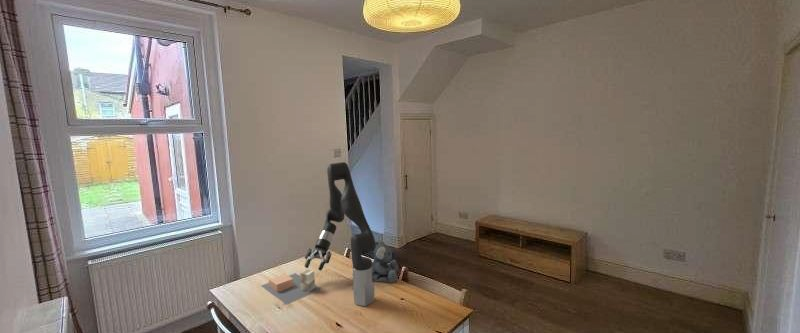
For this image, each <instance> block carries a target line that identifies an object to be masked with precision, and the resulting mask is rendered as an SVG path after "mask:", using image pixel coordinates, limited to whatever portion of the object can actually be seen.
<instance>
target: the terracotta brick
mask: <svg viewBox="0 0 800 333" xmlns="http://www.w3.org/2000/svg"><path fill="white" fill-rule="evenodd" d="M268 283H269V287H270V288H272V289H273V290H275V291H276V292H279V291H282V290H284V289H287V288H289V287H292V286H294V285H293V278H291V277H290V276H289V275H288V274H286V273H283V274H279V275H278V276H275V277H272V278H271V277H270V278H269V279H268Z"/></svg>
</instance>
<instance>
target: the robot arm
mask: <svg viewBox="0 0 800 333" xmlns="http://www.w3.org/2000/svg"><path fill="white" fill-rule="evenodd" d="M326 169H327V170H326V172H327V173H326V174H327V182H328V191H329V209H327V210H326V215H325V221H324V225H323V228H322V230H321V232H320V234H319V236H318V238H317V240H316V243H315V245H314V248H313V249H312V248H311V247H310V248H308V250H307V252H306V253H305V255H304V259H306V262H305V264H304V268H305V269H309V266H310V264H311V262H312V261H313V260H315V259H319V260H321V262H320V264H319V266H318V270H319V271H322V270H323V269H324V266H325V265H326V264H329V263H330V261H331V257H332V255H333V253H332V252H331V251H330V250H329V249H330V247H331V244H332V241H333V238H334V236H335V233H336V230H337V225H336V224H335V223H342V222H344V220H345V216H346V217H347V218H348V219H349V220H350V221H351V222H353V223H354V224H355V225H356V226H357V228H359V230H360V233H356V234H355V233H354V234H353V235H351V237H350V252H351V264H352V281H353V284H352V285H353V286H352V287H353V303H354V305H356V306H363V307H367V306H369V305H370V304H372V303H374V302H375V282H373V279H372V262H373V260H372V259H371V258H370V257H365V256H362V254H365V253H369V252H374V250H375V248H376V247H377V245H376V239H375V235H374V234H373V232H372V229H371V227H370V225H369V223H368V221H367V218H366V216H365V213H364V211H363V206H362V204H361V202H360V198H359V196H358V193H357V191H356V188H355V184H354V181H353V179H352V175H351V171H350V168H349V165H348V164H347V163H346V162H344V161H342V162H335V163H330V164H328V165H327V168H326ZM341 180H344V188H343V192H341V190H340V189H339V188H338V187H337V185H336V184H335V182H337V181H341ZM333 222H335V223H333ZM325 256H326V257H325Z"/></svg>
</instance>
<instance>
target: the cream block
mask: <svg viewBox="0 0 800 333" xmlns="http://www.w3.org/2000/svg"><path fill="white" fill-rule="evenodd" d="M299 275H300V282H301V290H303V291H308V292H309V291H311V290H312V289H313V288H315V285H316V284H315V283H316V281H315V270H311V269H308V268H305V270H303V271H301V272H300V273H299Z"/></svg>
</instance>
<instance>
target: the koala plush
mask: <svg viewBox="0 0 800 333" xmlns="http://www.w3.org/2000/svg"><path fill="white" fill-rule="evenodd" d="M377 244H378V245H376V247H375V249H374V250H373V260H372V279H373V281H374V282H376V283H377V282H385V283H390V282H391V283H395V282H397V281H398V279H399V278H398V274H397V273H398V272H399V265H398V263H397V261H396V259H393V258H394V257H395V254H394V253H393V252H392V250H391V248H390V247H389V245H388V244H386V241H385V240H379V241H378V243H377ZM392 259H393V260H392Z"/></svg>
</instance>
